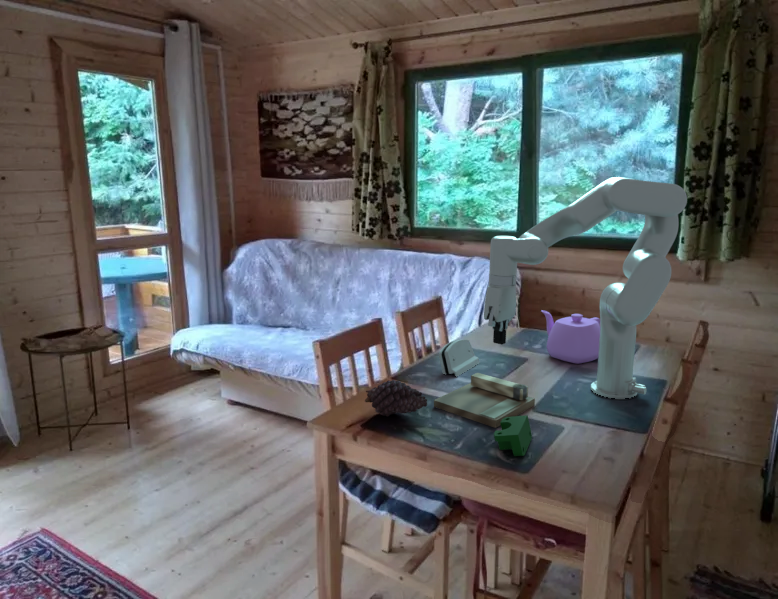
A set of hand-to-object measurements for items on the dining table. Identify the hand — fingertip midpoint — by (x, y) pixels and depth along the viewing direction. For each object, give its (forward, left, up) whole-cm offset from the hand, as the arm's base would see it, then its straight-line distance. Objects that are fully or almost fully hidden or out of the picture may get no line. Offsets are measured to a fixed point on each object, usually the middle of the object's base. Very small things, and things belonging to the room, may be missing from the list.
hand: (499, 342), depth 169 cm
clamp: (-22, +27, -15) cm, 38 cm away
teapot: (-2, -42, -15) cm, 44 cm away
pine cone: (+11, +33, -15) cm, 38 cm away
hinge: (+21, -8, -15) cm, 27 cm away
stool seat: (-3, +12, -15) cm, 19 cm away
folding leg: (-4, +6, -12) cm, 14 cm away
